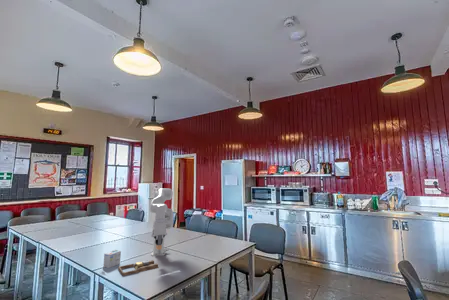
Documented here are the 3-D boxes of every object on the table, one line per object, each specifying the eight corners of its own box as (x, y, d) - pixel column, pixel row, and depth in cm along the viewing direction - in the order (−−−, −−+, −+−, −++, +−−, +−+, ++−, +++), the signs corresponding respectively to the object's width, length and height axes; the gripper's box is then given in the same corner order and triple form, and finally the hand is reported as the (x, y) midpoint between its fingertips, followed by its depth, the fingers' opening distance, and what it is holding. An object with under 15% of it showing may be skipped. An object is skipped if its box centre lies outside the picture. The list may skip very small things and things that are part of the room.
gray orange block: (159, 247, 184) (160, 233, 185) (161, 249, 180) (162, 234, 182) (155, 248, 182) (156, 234, 183) (157, 249, 178) (158, 235, 180)
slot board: (152, 263, 184) (152, 259, 184) (158, 268, 173) (158, 264, 173) (118, 270, 169) (118, 266, 169) (122, 277, 157) (122, 272, 158)
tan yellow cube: (140, 267, 173) (140, 261, 174) (142, 268, 171) (142, 263, 171) (135, 268, 171) (135, 262, 171) (137, 270, 168) (137, 264, 168)
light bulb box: (114, 263, 183) (115, 249, 184) (120, 264, 180) (121, 250, 182) (102, 268, 173) (103, 253, 175) (109, 269, 171) (110, 254, 172)
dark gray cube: (147, 265, 177) (147, 260, 177) (148, 267, 173) (149, 261, 174) (141, 266, 174) (142, 261, 175) (143, 268, 171) (143, 262, 172)
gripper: (167, 219, 192) (166, 241, 189) (148, 220, 182) (147, 244, 180) (171, 220, 186) (170, 243, 183) (151, 222, 176) (150, 246, 174)
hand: (158, 243), depth 182 cm, fingers closed on gray orange block, 2 cm apart
